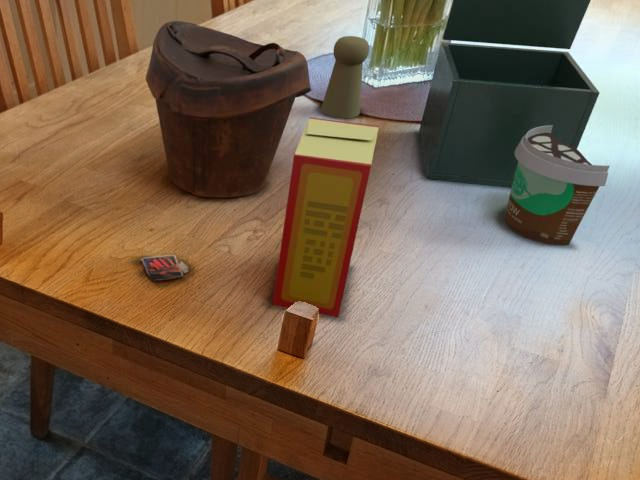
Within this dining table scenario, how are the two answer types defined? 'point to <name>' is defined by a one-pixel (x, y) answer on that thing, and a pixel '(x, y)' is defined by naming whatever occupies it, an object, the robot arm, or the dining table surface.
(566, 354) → the dining table surface
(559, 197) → the food container
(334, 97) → the olive pawn figure
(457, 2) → the bin lid
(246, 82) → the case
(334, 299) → the baking soda box
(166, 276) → the matchbox
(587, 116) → the waste bin
